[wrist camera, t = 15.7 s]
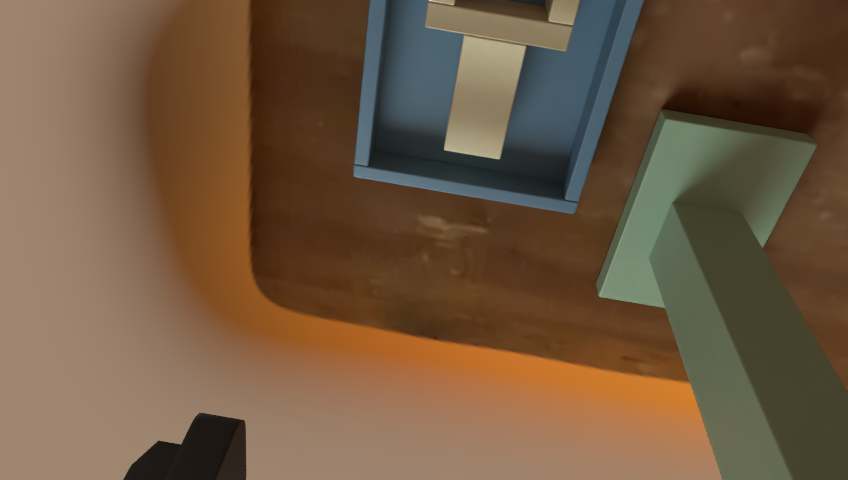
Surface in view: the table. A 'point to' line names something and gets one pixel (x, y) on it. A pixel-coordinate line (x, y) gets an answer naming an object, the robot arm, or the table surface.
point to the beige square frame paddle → (494, 62)
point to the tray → (530, 117)
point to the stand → (731, 294)
